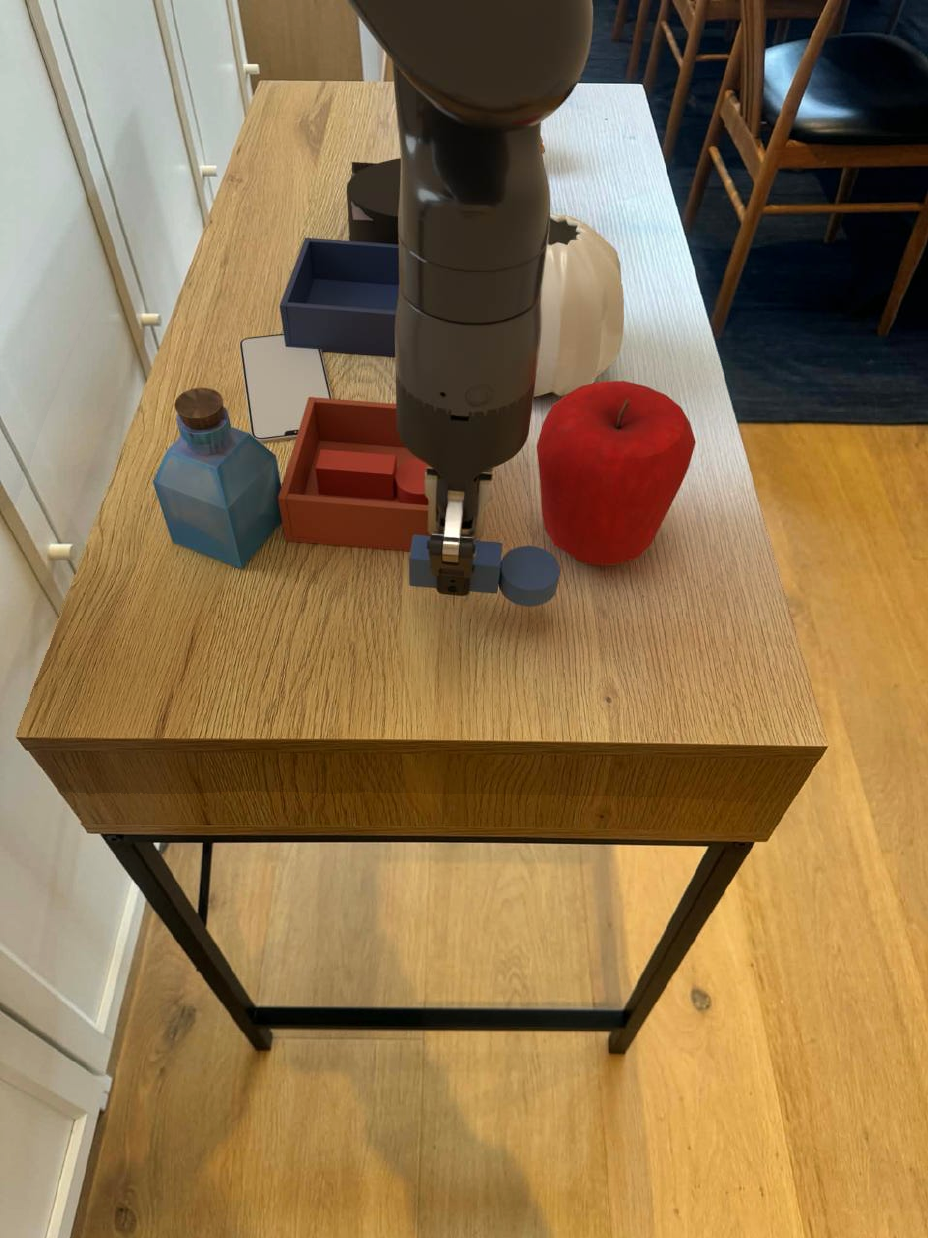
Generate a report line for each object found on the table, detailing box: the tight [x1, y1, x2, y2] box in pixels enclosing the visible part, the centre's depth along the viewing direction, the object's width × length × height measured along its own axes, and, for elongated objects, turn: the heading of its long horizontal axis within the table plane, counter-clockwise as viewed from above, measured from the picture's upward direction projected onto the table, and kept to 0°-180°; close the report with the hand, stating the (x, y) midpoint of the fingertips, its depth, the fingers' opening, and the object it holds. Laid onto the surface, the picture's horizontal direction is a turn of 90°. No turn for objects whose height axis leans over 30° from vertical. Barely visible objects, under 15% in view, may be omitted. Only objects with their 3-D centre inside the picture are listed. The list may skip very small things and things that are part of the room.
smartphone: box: [238, 333, 334, 444], centre depth 79 cm, size 7×1×15 cm
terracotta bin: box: [278, 397, 431, 552], centre depth 69 cm, size 13×12×4 cm
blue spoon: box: [408, 535, 561, 608], centre depth 60 cm, size 10×4×3 cm, turn 85°
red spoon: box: [315, 449, 431, 505], centre depth 70 cm, size 10×4×3 cm, turn 85°
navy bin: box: [279, 237, 399, 358], centre depth 84 cm, size 13×12×4 cm
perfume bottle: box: [152, 387, 282, 570], centre depth 64 cm, size 6×6×12 cm
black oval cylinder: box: [346, 157, 401, 245], centre depth 93 cm, size 14×18×8 cm
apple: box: [536, 380, 697, 566], centre depth 64 cm, size 10×10×14 cm
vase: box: [533, 212, 625, 398], centre depth 77 cm, size 14×14×13 cm
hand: (454, 575), depth 61 cm, fingers closed on blue spoon, 2 cm apart
